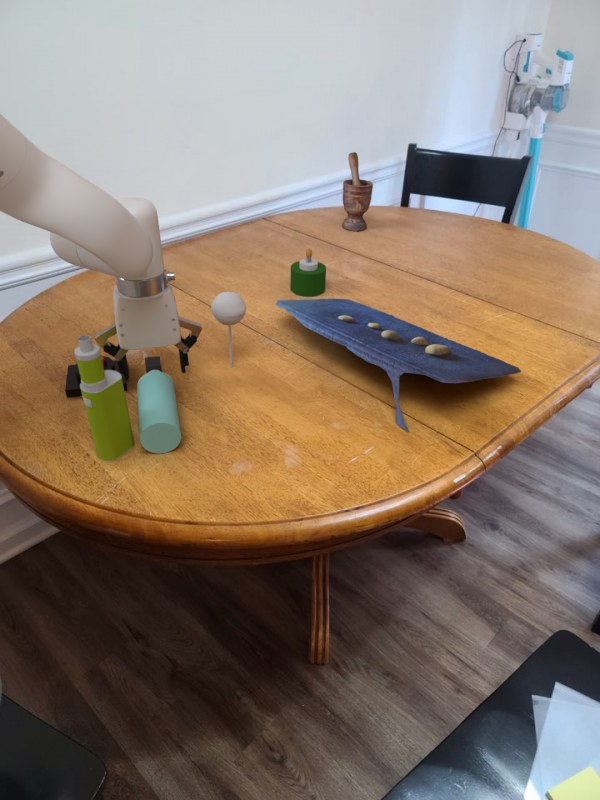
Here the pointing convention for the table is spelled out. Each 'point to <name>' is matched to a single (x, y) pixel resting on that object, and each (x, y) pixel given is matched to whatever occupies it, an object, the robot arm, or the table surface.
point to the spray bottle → (157, 409)
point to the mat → (394, 344)
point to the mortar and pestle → (356, 197)
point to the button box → (75, 379)
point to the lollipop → (228, 312)
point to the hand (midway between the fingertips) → (155, 372)
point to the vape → (103, 403)
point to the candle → (308, 277)
